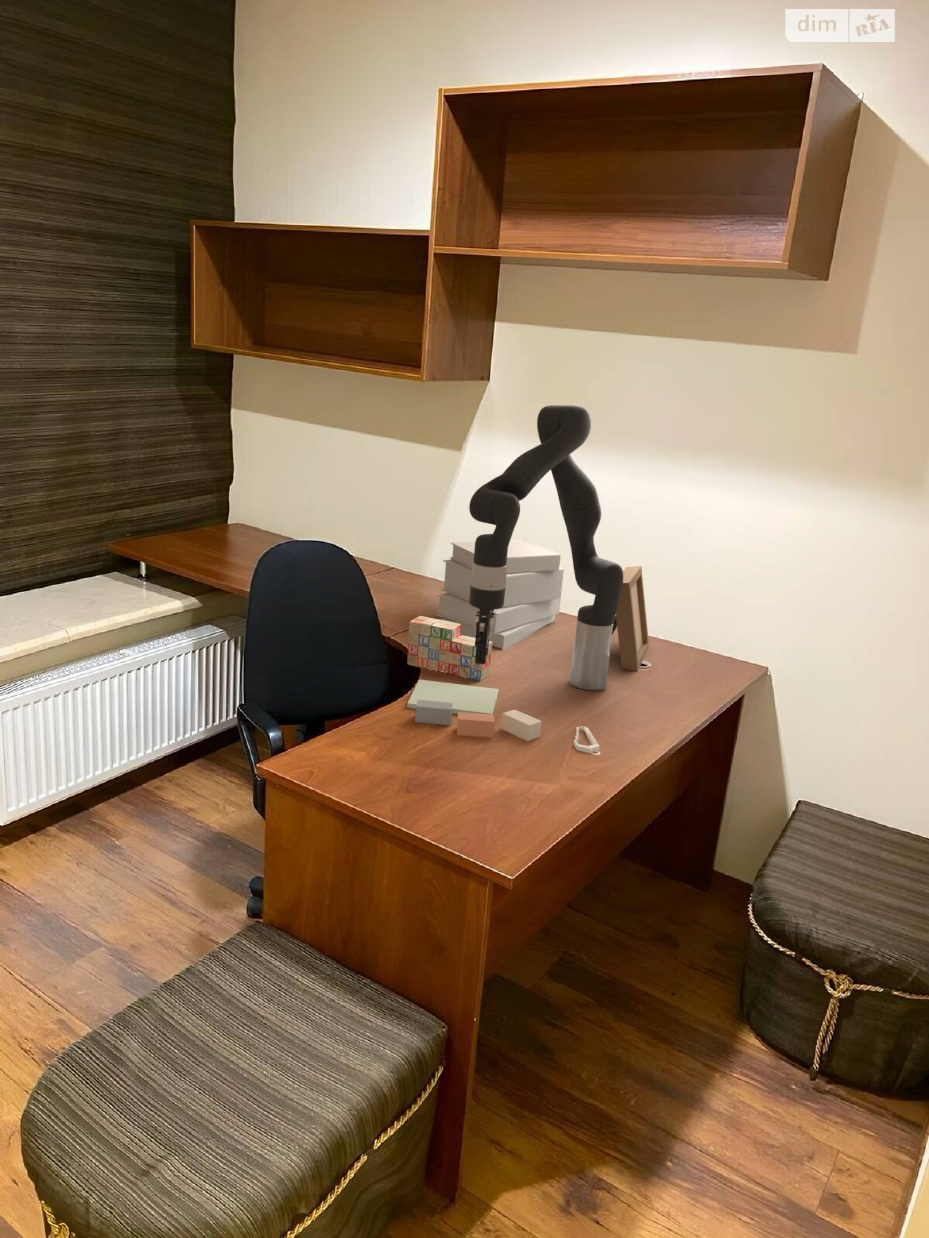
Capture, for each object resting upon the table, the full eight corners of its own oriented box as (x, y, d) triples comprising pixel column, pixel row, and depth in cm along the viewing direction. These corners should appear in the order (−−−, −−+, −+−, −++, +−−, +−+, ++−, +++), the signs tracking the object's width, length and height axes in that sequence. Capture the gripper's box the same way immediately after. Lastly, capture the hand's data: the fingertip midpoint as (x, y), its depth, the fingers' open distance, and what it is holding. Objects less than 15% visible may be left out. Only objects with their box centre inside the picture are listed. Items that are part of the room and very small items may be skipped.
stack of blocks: (489, 675, 244) (494, 630, 240) (480, 682, 238) (484, 636, 235) (416, 658, 252) (419, 614, 248) (406, 664, 246) (409, 620, 242)
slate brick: (451, 718, 214) (452, 702, 213) (450, 725, 210) (451, 709, 209) (416, 715, 214) (417, 699, 213) (414, 722, 211) (416, 706, 209)
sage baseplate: (498, 693, 231) (498, 689, 231) (492, 718, 216) (492, 713, 216) (418, 683, 233) (419, 679, 233) (407, 707, 218) (407, 703, 217)
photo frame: (648, 651, 273) (661, 569, 265) (637, 674, 253) (650, 586, 245) (599, 642, 277) (609, 561, 270) (583, 664, 257) (594, 577, 250)
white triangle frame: (564, 731, 213) (565, 724, 213) (585, 732, 214) (586, 725, 214) (579, 756, 201) (579, 749, 201) (601, 757, 202) (602, 749, 201)
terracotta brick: (492, 730, 210) (493, 714, 209) (492, 738, 206) (494, 721, 205) (456, 728, 209) (458, 712, 208) (456, 735, 206) (458, 719, 204)
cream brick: (539, 737, 208) (541, 721, 207) (528, 741, 206) (529, 725, 204) (512, 725, 214) (514, 709, 212) (501, 729, 211) (502, 713, 210)
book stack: (567, 629, 288) (577, 548, 280) (513, 657, 259) (522, 567, 251) (483, 608, 302) (491, 530, 294) (423, 632, 273) (429, 547, 265)
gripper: (502, 594, 191) (495, 672, 196) (508, 577, 205) (501, 650, 210) (466, 590, 192) (460, 668, 197) (474, 574, 205) (468, 646, 210)
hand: (481, 658), depth 203 cm, fingers open, 5 cm apart
